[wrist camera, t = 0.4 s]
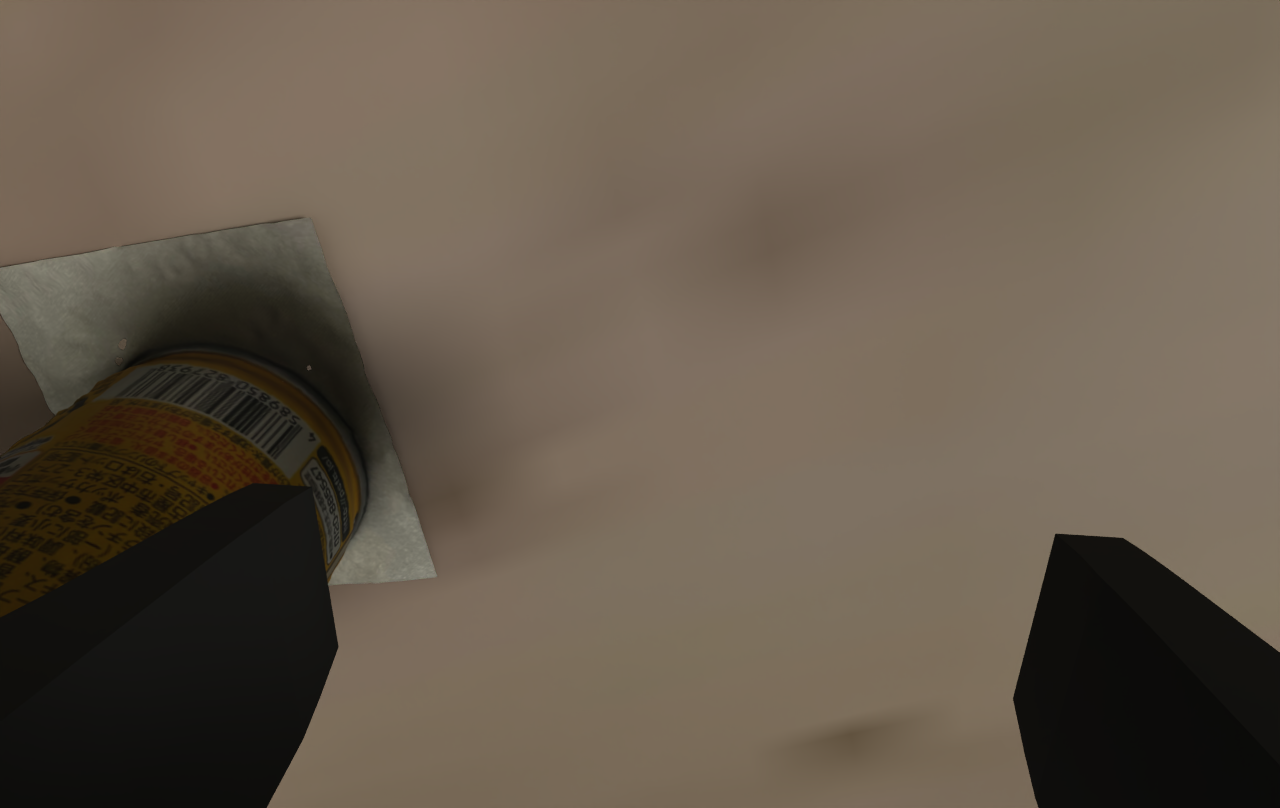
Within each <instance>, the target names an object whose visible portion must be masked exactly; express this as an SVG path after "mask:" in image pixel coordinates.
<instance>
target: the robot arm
mask: <svg viewBox="0 0 1280 808" xmlns="http://www.w3.org/2000/svg"><path fill="white" fill-rule="evenodd" d="M337 650H338V642H337V636H336V630H335V623H334V617H333V611H332V605H331V599H330V593H329V587H328V581H327V575H326V569H325V563H324V557H323V550H322V544H321V538H320V532H319V526H318V520H317V514H316V508H315V502H314V496H313V490H312V487H309V486H294V485H278V484H262V483H252V484H250V485H248V486H245V487H243V488H241V489H239V490H236V491H234V492H232V493H230V494H228V495H226V496H224V497H222V498H220V499H218V500H216V501H214V502H212V503H210V504H208V505H207V506H205V507H203V508H201V509H199V510H197V511H195V512H194V513H192V514H190V515H188V516H186V517H184V518H183V519H181V520H179V521H177V522H175V523H173V524H172V525H170V526H168V527H166V528H164V529H163V530H161V531H159V532H157V533H156V534H154V535H152V536H150V537H148V538H147V539H145V540H143V541H141V542H139V543H138V544H136V545H134V546H132V547H130V548H129V549H127V550H125V551H123V552H121V553H120V554H118V555H116V556H114V557H112V558H111V559H109V560H107V561H105V562H103V563H101V564H100V565H98V566H96V567H94V568H92V569H91V570H89V571H87V572H85V573H83V574H82V575H80V576H78V577H76V578H74V579H73V580H71V581H69V582H67V583H65V584H64V585H62V586H60V587H58V588H56V589H54V590H53V591H51V592H49V593H47V594H45V595H43V596H41V597H39V598H37V599H35V600H33V601H31V602H29V603H27V604H26V605H24V606H22V607H20V608H18V609H16V610H14V611H12V612H10V613H8V614H6V615H4V616H2V617H0V808H267V806H268V804H269V802H270V800H271V798H272V797H273V795H274V793H275V791H276V789H277V787H278V785H279V783H280V782H281V780H282V778H283V776H284V774H285V772H286V770H287V769H288V767H289V765H290V763H291V761H292V759H293V757H294V755H295V753H296V752H297V750H298V748H299V746H300V744H301V742H302V740H303V738H304V736H305V733H306V731H307V728H308V726H309V723H310V721H311V718H312V716H313V713H314V711H315V708H316V706H317V704H318V701H319V699H320V696H321V693H322V691H323V688H324V685H325V682H326V680H327V677H328V674H329V671H330V669H331V666H332V663H333V661H334V658H335V655H336V652H337ZM1013 701H1014V705H1015V710H1016V715H1017V720H1018V724H1019V729H1020V734H1021V739H1022V743H1023V748H1024V753H1025V757H1026V761H1027V765H1028V769H1029V774H1030V778H1031V782H1032V786H1033V790H1034V794H1035V799H1036V802H1037V804H1038V807H1039V808H1280V652H1278V651H1277V650H1276V649H1274V648H1273V647H1272V646H1270V645H1269V644H1268V643H1266V642H1265V641H1264V640H1262V639H1261V638H1260V637H1258V636H1257V635H1256V634H1254V633H1253V632H1252V631H1250V630H1249V629H1248V628H1246V627H1245V626H1244V625H1242V624H1241V623H1240V622H1238V621H1237V620H1236V619H1234V618H1233V617H1232V616H1230V615H1229V614H1228V613H1226V612H1225V611H1224V610H1222V609H1221V608H1220V607H1219V606H1217V605H1216V604H1215V603H1213V602H1212V601H1211V600H1209V599H1208V598H1207V597H1205V596H1204V595H1203V594H1201V593H1200V592H1199V591H1197V590H1196V589H1195V588H1193V587H1192V586H1191V585H1189V584H1188V583H1187V582H1185V581H1184V580H1183V579H1181V578H1180V577H1178V576H1177V575H1176V574H1174V573H1173V572H1172V571H1170V570H1169V569H1168V568H1166V567H1165V566H1163V565H1162V564H1161V563H1159V562H1158V561H1157V560H1155V559H1154V558H1152V557H1151V556H1149V555H1148V554H1147V553H1145V552H1144V551H1142V550H1141V549H1139V548H1138V547H1136V546H1135V545H1133V544H1131V543H1130V542H1128V541H1127V540H1125V539H1124V538H1115V537H1100V536H1084V535H1068V534H1055V537H1054V541H1053V545H1052V549H1051V553H1050V557H1049V561H1048V565H1047V568H1046V572H1045V576H1044V580H1043V584H1042V588H1041V592H1040V596H1039V600H1038V603H1037V607H1036V611H1035V615H1034V619H1033V623H1032V627H1031V631H1030V635H1029V638H1028V642H1027V646H1026V650H1025V654H1024V658H1023V662H1022V666H1021V669H1020V673H1019V677H1018V681H1017V685H1016V689H1015V693H1014V697H1013Z"/></svg>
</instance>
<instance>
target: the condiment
mask: <svg viewBox="0 0 1280 808" xmlns="http://www.w3.org/2000/svg"><path fill="white" fill-rule="evenodd" d="M0 314H1V316H2V318H3V319H4V321H5V322H6V324H7V325H8V327H9V328H10V330H11V331H12V333H13V335H14V337H15V339H16V341H17V343H18V345H19V350H20V353H21V355H22V358H23V360H24V362H25V364H26V365H27V367H28V368H29V369H30V371H31V372H32V373H33V375H34V376H35V378H36V380H37V382H38V384H39V386H40V388H41V390H42V392H43V395H44V398H45V401H46V403H47V405H48V407H49V409H50V410H51V412H53V413H54V415H55V417H54V418H52V419H51V420H50V421H49V422H48V423H46V425H45V426H44V427H42V428H41V429H39V430H37V431H36V432H34V433H32V434H30V435H28V436H26V437H24V438H23V439H21V440H19V441H18V442H16V443H15V444H14V445H13V446H12V447H10V449H9V450H8V451H7V452H6V453H4V454H3V455H1V456H0V617H2V616H4V615H6V614H8V613H10V612H12V611H14V610H16V609H18V608H20V607H22V606H24V605H26V604H27V603H29V602H31V601H33V600H35V599H37V598H39V597H41V596H43V595H45V594H47V593H49V592H51V591H53V590H54V589H56V588H58V587H60V586H62V585H64V584H65V583H67V582H69V581H71V580H73V579H74V578H76V577H78V576H80V575H82V574H83V573H85V572H87V571H89V570H91V569H92V568H94V567H96V566H98V565H100V564H101V563H103V562H105V561H107V560H109V559H111V558H112V557H114V556H116V555H118V554H120V553H121V552H123V551H125V550H127V549H129V548H130V547H132V546H134V545H136V544H138V543H139V542H141V541H143V540H145V539H147V538H148V537H150V536H152V535H154V534H156V533H157V532H159V531H161V530H163V529H164V528H166V527H168V526H170V525H172V524H173V523H175V522H177V521H179V520H181V519H183V518H184V517H186V516H188V515H190V514H192V513H194V512H195V511H197V510H199V509H201V508H203V507H205V506H207V505H208V504H210V503H212V502H214V501H216V500H218V499H220V498H222V497H224V496H226V495H228V494H230V493H232V492H234V491H236V490H239V489H241V488H243V487H245V486H248V485H250V484H252V483H262V484H278V485H294V486H309V487H312V490H313V496H314V502H315V508H316V514H317V520H318V526H319V532H320V538H321V544H322V550H323V557H324V563H325V569H326V575H327V581H328V585H339V584H349V583H352V584H362V583H383V582H393V581H406V580H416V579H425V578H432V577H437V574H436V571H435V568H434V566H433V563H432V560H431V557H430V553H429V550H428V547H427V544H426V541H425V538H424V535H423V532H422V529H421V525H420V522H419V519H418V515H417V512H416V509H415V506H414V504H413V501H412V499H411V498H410V496H409V493H408V488H407V484H406V480H405V477H404V474H403V471H402V468H401V465H400V462H399V459H398V456H397V454H396V452H395V450H394V449H393V445H392V440H391V437H390V434H389V431H388V429H387V427H386V425H385V422H384V420H383V418H382V415H381V412H380V407H379V404H378V402H377V400H376V398H375V396H374V395H373V393H372V390H371V388H370V386H369V383H368V380H367V378H366V375H365V372H364V366H363V362H362V359H361V356H360V353H359V350H358V348H357V345H356V342H355V340H354V336H353V333H352V329H351V326H350V323H349V320H348V317H347V313H346V311H345V308H344V306H343V304H342V301H341V298H340V296H339V294H338V291H337V289H336V287H335V285H334V282H333V280H332V278H331V276H330V273H329V271H328V268H327V265H326V262H325V258H324V255H323V251H322V248H321V246H320V243H319V240H318V237H317V234H316V231H315V228H314V225H313V222H312V219H311V218H302V219H295V220H289V221H282V222H277V223H274V224H272V223H266V224H258V225H253V226H247V227H241V228H234V229H228V230H221V231H216V232H210V233H206V234H196V235H188V236H183V237H177V238H172V239H165V240H159V241H153V242H147V243H141V244H136V245H129V246H122V247H112V248H108V249H105V250H99V251H94V252H89V253H84V254H81V255H72V256H66V257H58V258H52V259H45V260H39V261H35V262H30V263H25V264H19V265H13V266H7V267H2V268H0ZM122 339H126V340H127V343H126V347H125V349H124V350H121V349H120V348H119V347H118V344H119V342H120V341H121V340H122ZM116 357H120V358H122V359H123V363H122V364H121V365H120V366H118V365H116V362H115V359H116ZM308 365H310V366H311V368H312V370H309V371H308V370H307V366H308Z"/></svg>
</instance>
